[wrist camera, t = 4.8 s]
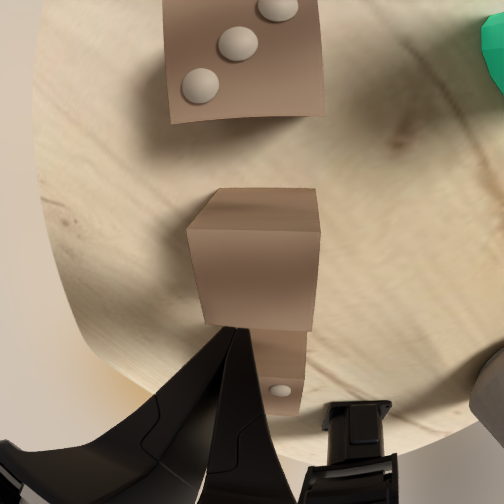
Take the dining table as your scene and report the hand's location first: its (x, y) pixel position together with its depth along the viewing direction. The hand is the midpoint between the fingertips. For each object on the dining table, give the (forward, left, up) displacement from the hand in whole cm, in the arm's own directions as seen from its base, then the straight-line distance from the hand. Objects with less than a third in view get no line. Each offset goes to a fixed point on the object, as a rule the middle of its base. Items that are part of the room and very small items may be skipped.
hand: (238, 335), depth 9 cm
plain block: (0, 0, -8) cm, 8 cm away
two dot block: (-9, 0, -8) cm, 12 cm away
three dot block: (+9, 0, -8) cm, 12 cm away
